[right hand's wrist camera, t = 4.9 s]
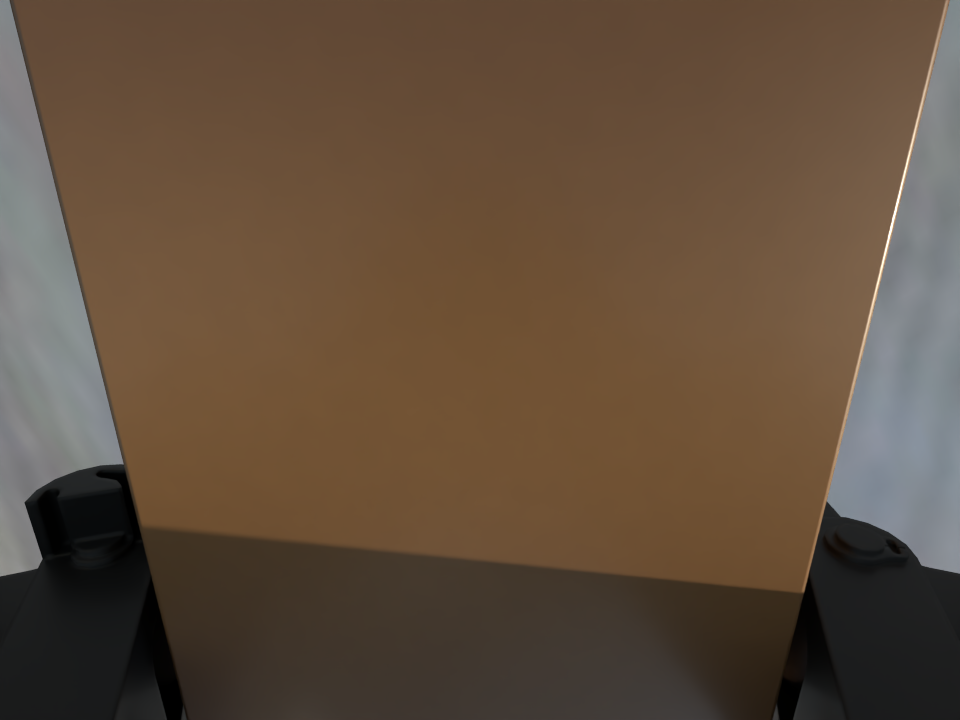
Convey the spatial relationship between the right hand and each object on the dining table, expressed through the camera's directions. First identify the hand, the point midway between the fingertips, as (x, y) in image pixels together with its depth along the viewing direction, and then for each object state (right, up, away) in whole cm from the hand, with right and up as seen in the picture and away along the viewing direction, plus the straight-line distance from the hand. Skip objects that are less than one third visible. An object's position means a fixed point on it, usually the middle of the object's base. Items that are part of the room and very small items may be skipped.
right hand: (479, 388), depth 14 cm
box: (0, +8, -2) cm, 8 cm away
